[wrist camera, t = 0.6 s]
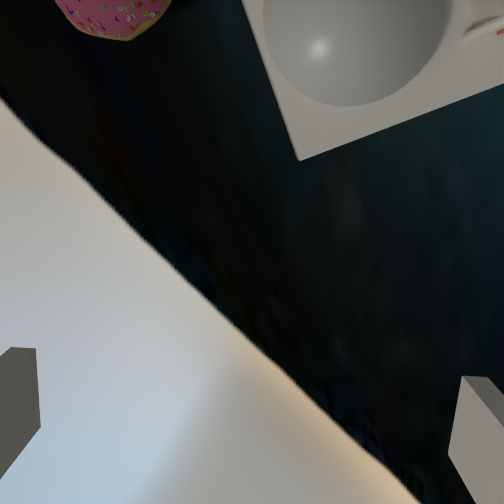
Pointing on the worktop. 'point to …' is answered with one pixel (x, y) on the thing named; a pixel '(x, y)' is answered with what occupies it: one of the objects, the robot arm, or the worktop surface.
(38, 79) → the worktop surface
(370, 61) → the scale
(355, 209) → the worktop surface
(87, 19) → the cupcake
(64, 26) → the worktop surface
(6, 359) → the robot arm
